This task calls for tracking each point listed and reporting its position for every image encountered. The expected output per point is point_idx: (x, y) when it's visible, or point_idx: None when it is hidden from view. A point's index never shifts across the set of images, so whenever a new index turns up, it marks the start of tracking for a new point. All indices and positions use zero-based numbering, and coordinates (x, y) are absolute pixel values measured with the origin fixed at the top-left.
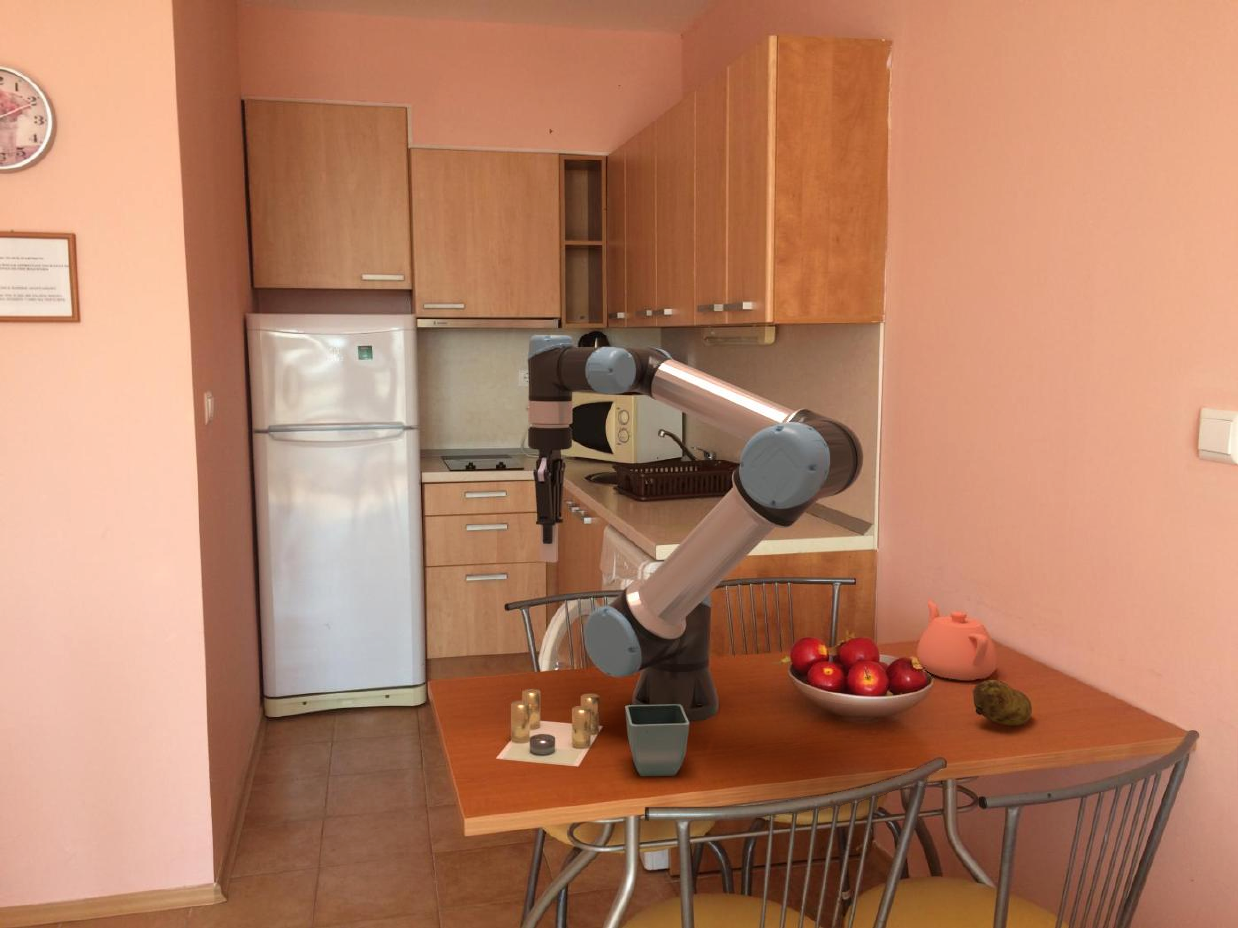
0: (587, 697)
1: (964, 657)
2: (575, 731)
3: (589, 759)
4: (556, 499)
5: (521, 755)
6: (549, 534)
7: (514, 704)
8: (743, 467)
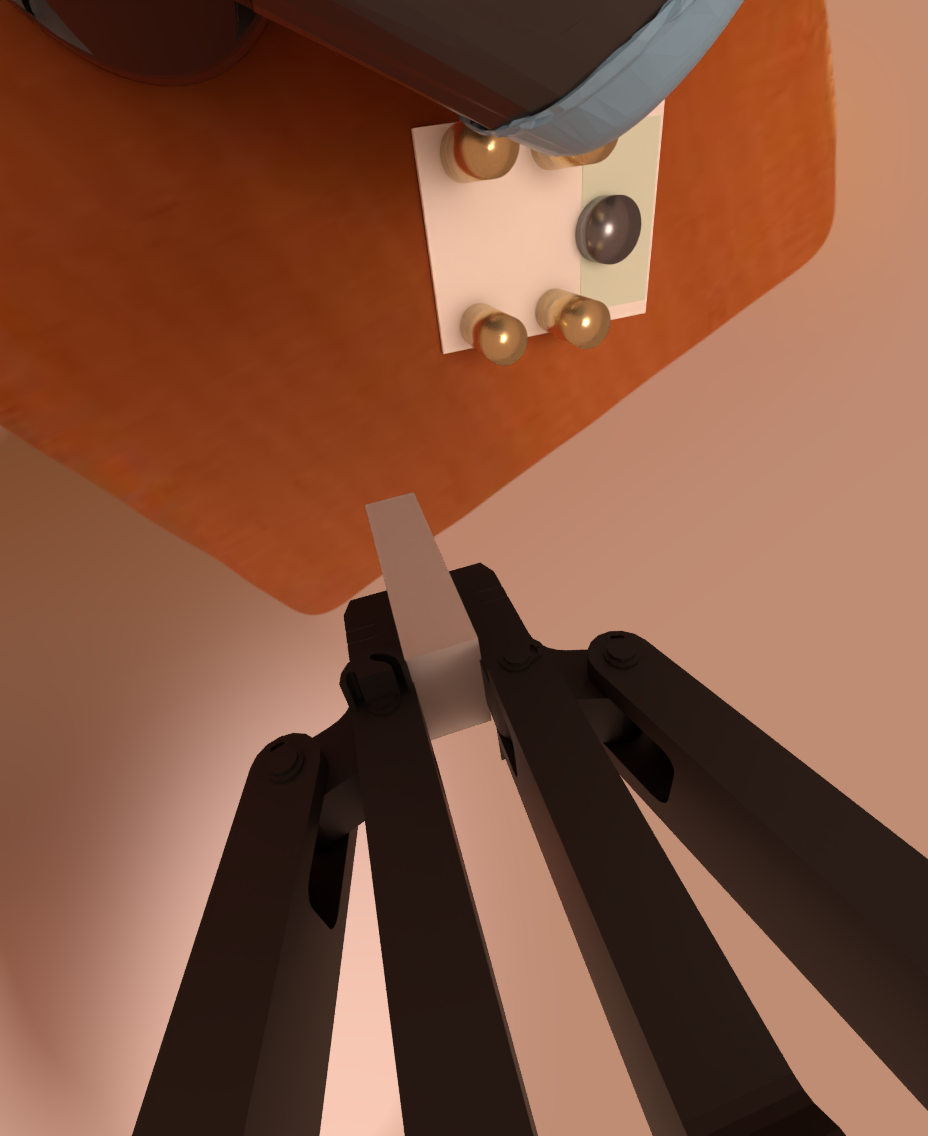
0: (502, 149)
1: None
2: None
3: None
4: (471, 906)
5: (628, 266)
6: (510, 607)
7: (595, 337)
8: None
